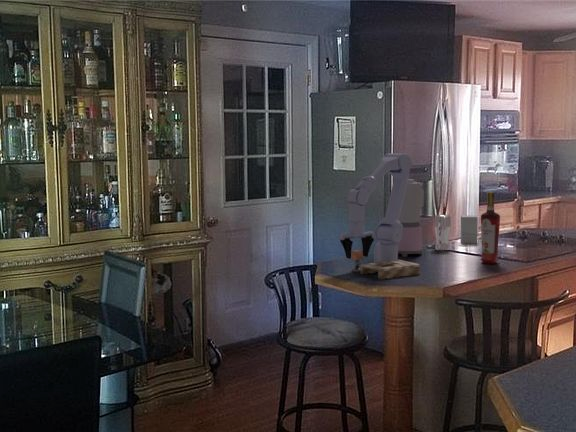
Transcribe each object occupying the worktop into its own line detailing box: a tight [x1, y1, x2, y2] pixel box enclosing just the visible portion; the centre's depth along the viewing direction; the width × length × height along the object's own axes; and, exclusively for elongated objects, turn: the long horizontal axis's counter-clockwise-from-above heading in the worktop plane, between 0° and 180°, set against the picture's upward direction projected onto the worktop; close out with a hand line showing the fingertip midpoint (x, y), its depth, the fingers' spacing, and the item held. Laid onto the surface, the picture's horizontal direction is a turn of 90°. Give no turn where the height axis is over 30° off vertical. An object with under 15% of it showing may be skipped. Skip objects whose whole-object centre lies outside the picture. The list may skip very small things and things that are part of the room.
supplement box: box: [460, 214, 479, 244], centre depth 332 cm, size 7×7×13 cm
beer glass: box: [434, 214, 452, 251], centre depth 313 cm, size 7×7×15 cm
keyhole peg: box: [351, 249, 364, 273], centre depth 266 cm, size 4×4×8 cm
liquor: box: [480, 191, 501, 265], centre depth 277 cm, size 7×7×28 cm
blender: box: [398, 178, 426, 258], centre depth 301 cm, size 16×12×32 cm
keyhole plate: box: [360, 259, 421, 280], centre depth 260 cm, size 18×12×4 cm, turn 119°
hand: (357, 257), depth 266 cm, fingers open, 7 cm apart
